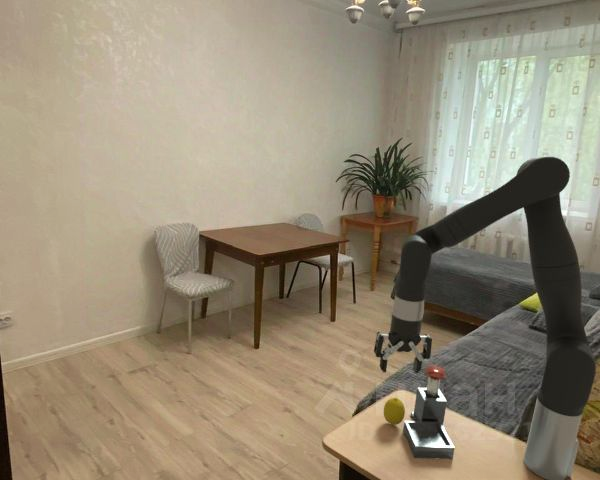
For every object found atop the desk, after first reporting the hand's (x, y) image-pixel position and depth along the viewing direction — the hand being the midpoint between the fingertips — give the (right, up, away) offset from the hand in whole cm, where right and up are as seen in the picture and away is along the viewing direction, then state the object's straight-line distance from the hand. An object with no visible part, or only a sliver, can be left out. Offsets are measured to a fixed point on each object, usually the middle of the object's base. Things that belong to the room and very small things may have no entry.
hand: (399, 371), depth 110 cm
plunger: (+9, -10, +4) cm, 14 cm away
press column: (+9, -16, +6) cm, 19 cm away
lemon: (-1, -16, +4) cm, 16 cm away
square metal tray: (+6, -18, -3) cm, 19 cm away
